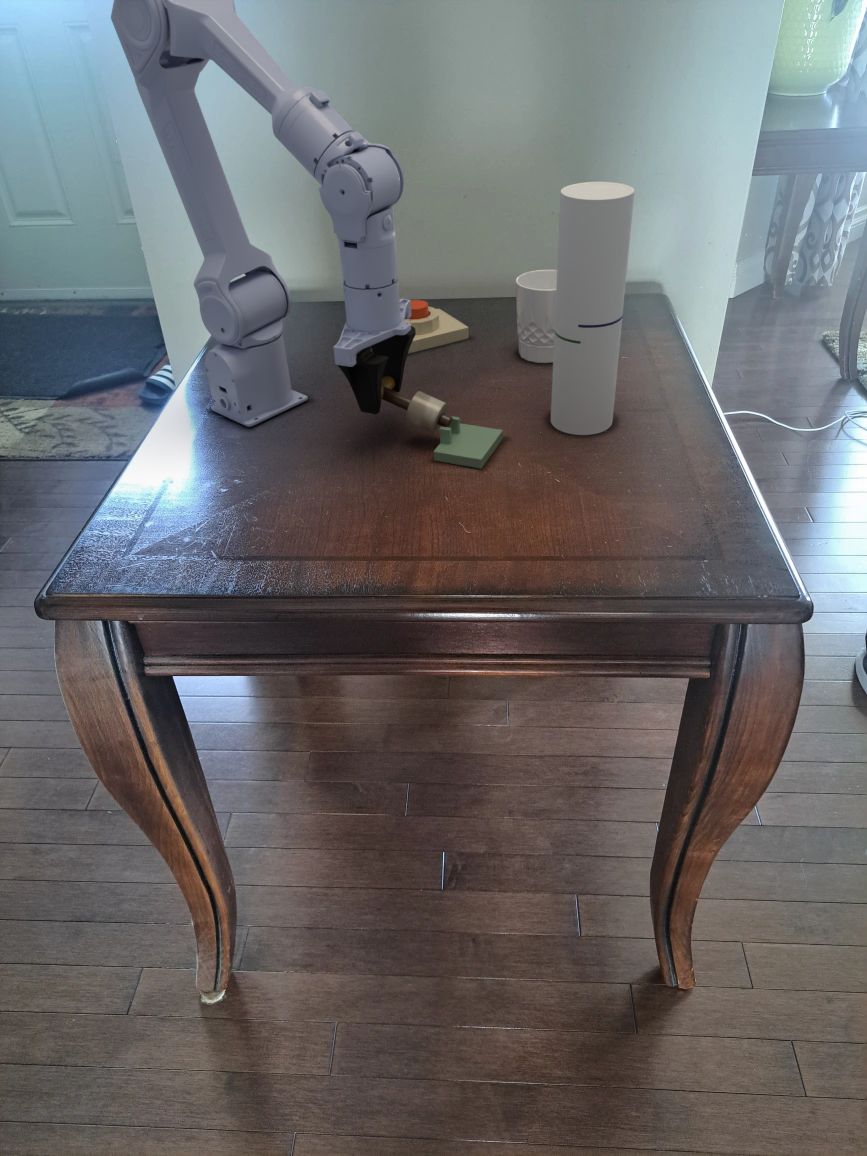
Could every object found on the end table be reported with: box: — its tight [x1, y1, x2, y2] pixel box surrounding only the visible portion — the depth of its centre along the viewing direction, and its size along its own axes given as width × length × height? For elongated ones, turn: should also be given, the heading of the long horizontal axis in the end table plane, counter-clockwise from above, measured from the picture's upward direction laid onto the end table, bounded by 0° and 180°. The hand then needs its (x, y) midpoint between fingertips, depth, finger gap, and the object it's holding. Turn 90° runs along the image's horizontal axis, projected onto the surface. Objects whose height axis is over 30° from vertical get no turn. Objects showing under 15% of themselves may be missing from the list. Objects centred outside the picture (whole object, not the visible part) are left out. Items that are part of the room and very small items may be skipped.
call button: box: [409, 299, 429, 320], centre depth 117 cm, size 4×4×2 cm
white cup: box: [515, 269, 557, 364], centre depth 109 cm, size 8×8×10 cm
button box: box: [404, 306, 470, 355], centre depth 118 cm, size 12×9×4 cm
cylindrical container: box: [550, 181, 635, 436], centre depth 89 cm, size 7×7×25 cm
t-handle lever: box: [381, 376, 453, 434], centre depth 92 cm, size 10×5×4 cm, turn 67°
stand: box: [433, 415, 504, 470], centre depth 92 cm, size 6×7×3 cm
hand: (380, 401), depth 93 cm, fingers closed on t-handle lever, 5 cm apart
